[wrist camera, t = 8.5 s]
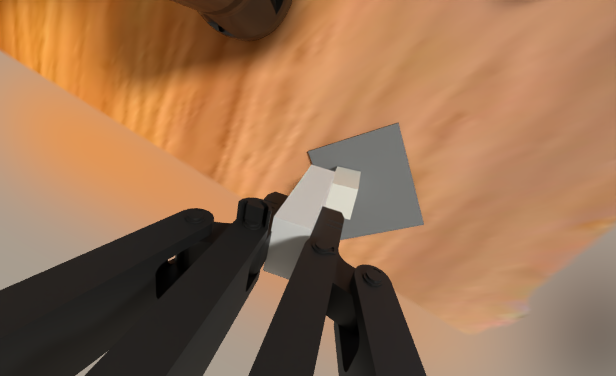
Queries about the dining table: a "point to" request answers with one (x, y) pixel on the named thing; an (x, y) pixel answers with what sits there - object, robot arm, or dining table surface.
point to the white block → (343, 191)
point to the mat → (375, 181)
